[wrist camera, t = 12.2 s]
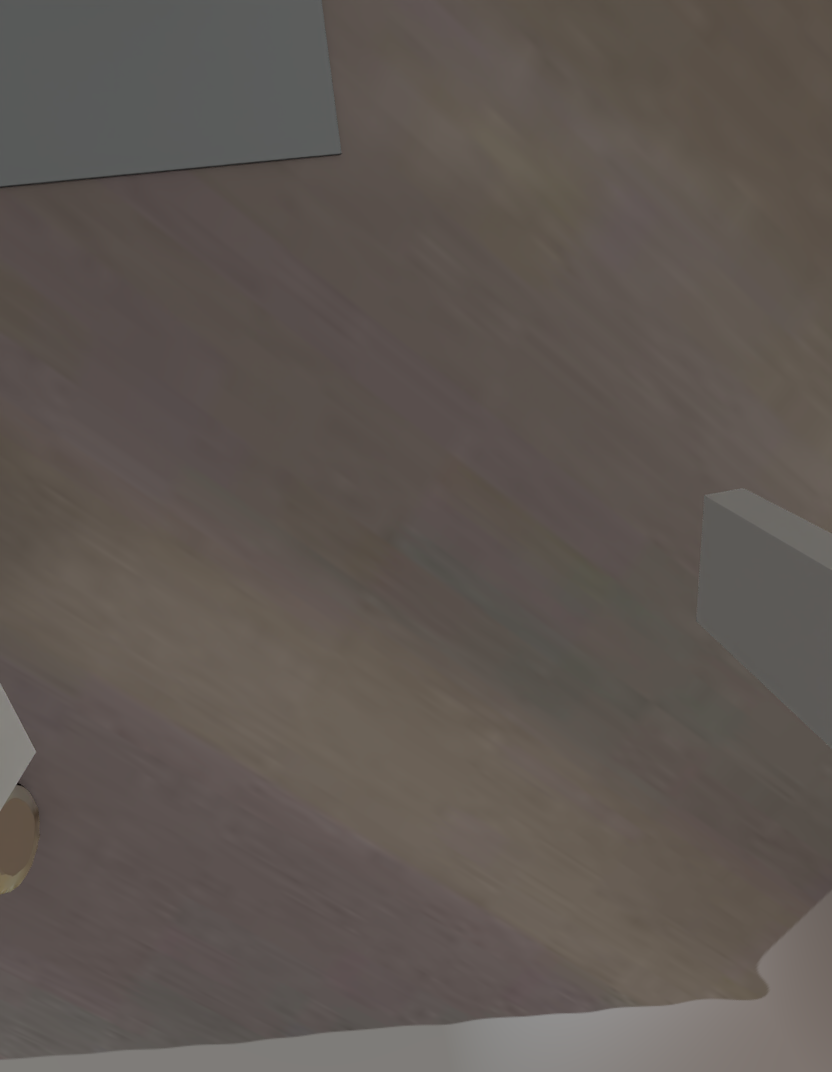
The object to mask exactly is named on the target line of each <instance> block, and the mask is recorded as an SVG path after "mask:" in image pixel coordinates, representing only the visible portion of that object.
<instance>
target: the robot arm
mask: <svg viewBox="0 0 832 1072" xmlns="http://www.w3.org/2000/svg"><path fill="white" fill-rule="evenodd" d="M696 621H697V622H698V623H699V624H700V625H701V626H702V627H703V628H704V629H705V630H706V631H707V632H708V633H709V634H710V635H711V636H713V637H714V638H715V639H716V640H717V641H718V642H719V643H720V644H721V645H722V646H723V647H724V648H725V649H726V650H727V651H728V652H730V653H731V654H732V655H733V656H734V657H735V658H736V659H737V660H738V661H739V662H740V663H741V664H742V665H743V666H744V667H745V668H747V669H748V670H749V671H750V672H751V673H752V674H753V675H754V676H755V677H756V678H757V679H758V680H759V681H760V682H761V683H762V684H764V685H765V686H766V687H767V688H768V689H769V690H770V691H771V692H772V693H773V694H774V695H775V696H776V697H777V698H778V699H779V700H781V701H782V702H783V703H784V704H785V705H786V706H787V707H788V708H789V709H790V710H791V711H792V712H793V713H794V714H795V715H796V716H797V717H799V718H800V719H801V720H802V721H803V722H804V723H805V724H806V725H807V726H808V727H809V728H810V729H811V730H812V731H813V732H814V733H816V734H817V735H818V736H819V737H820V738H821V739H822V740H823V741H824V742H825V743H826V744H827V745H828V746H829V747H830V748H831V749H832V533H830V532H828V531H826V530H824V529H822V528H820V527H818V526H816V525H814V524H812V523H810V522H808V521H806V520H804V519H802V518H801V517H799V516H797V515H795V514H793V513H791V512H789V511H787V510H785V509H783V508H781V507H779V506H777V505H775V504H773V503H771V502H769V501H768V500H766V499H764V498H762V497H760V496H758V495H756V494H754V493H752V492H750V491H748V490H746V489H744V488H742V489H736V490H731V491H725V492H720V493H714V494H709V495H704V509H703V524H702V540H701V555H700V571H699V586H698V601H697V617H696ZM35 753H36V751H35V749H34V747H33V745H32V743H31V741H30V739H29V737H28V735H27V733H26V731H25V730H24V728H23V726H22V724H21V722H20V720H19V718H18V716H17V714H16V712H15V710H14V709H13V707H12V705H11V703H10V701H9V699H8V697H7V695H6V693H5V691H4V689H3V688H2V686H1V684H0V811H1V809H2V807H3V806H4V804H5V802H6V801H7V799H8V797H9V796H10V794H11V792H12V791H13V789H14V788H15V786H16V784H17V783H18V781H19V779H20V778H21V776H22V774H23V773H24V771H25V769H26V768H27V766H28V764H29V763H30V761H31V760H32V758H33V756H34V755H35Z"/></svg>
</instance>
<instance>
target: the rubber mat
mask: <svg viewBox="0 0 832 1072" xmlns="http://www.w3.org/2000/svg"><path fill="white" fill-rule="evenodd" d="M339 154H341V146H340V139H339V131H338V123H337V116H336V108H335V100H334V93H333V85H332V77H331V70H330V62H329V55H328V47H327V39H326V32H325V24H324V16H323V9H322V1H321V0H0V187H9V186H19V185H30V184H40V183H50V182H61V181H71V180H81V179H91V178H102V177H112V176H122V175H133V174H143V173H153V172H164V171H174V170H184V169H195V168H205V167H215V166H226V165H236V164H246V163H257V162H267V161H277V160H288V159H298V158H308V157H319V156H329V155H339Z"/></svg>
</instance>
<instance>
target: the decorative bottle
mask: <svg viewBox="0 0 832 1072" xmlns="http://www.w3.org/2000/svg"><path fill="white" fill-rule="evenodd" d="M39 822H40V821H39V812H38V808H37V806H36V803H35V801H34V799H33V797H32V796H31V794H30V793H29V791H28V790H27V789H26V788H24V787H23V786H19V785H16V786H15V788H14V789H13V791H12V792H11V794H10V796H9V797H8V799H7V801H6V802H5V804H4V806H3V807H2V809H1V811H0V894H4V893H8V892H10V891H12V890H13V889H15V888H16V887H18V886H19V885H20V883H21V882H22V881H23V879H24V878H25V877H26V875H27V874H28V872H29V870H30V868H31V866H32V863H33V860H34V856H35V853H36V850H37V847H38V844H37V843H38V840H39V836H40V834H39Z"/></svg>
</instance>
